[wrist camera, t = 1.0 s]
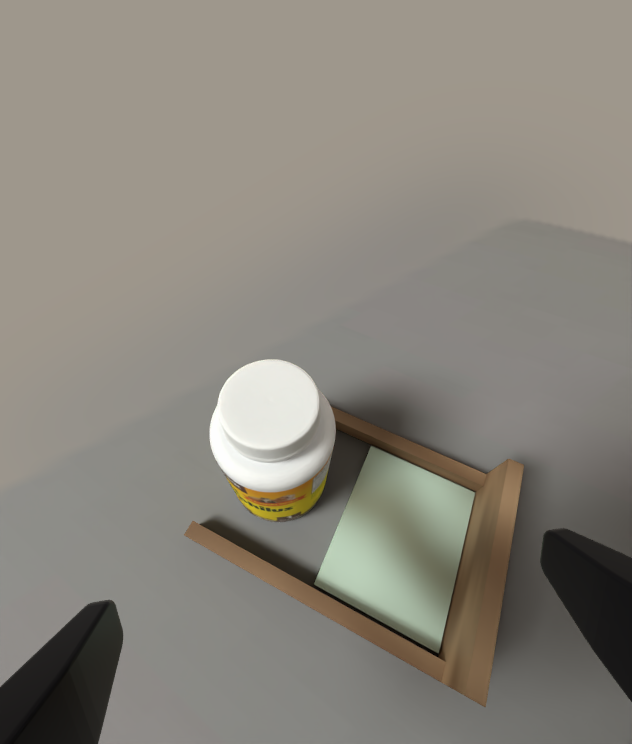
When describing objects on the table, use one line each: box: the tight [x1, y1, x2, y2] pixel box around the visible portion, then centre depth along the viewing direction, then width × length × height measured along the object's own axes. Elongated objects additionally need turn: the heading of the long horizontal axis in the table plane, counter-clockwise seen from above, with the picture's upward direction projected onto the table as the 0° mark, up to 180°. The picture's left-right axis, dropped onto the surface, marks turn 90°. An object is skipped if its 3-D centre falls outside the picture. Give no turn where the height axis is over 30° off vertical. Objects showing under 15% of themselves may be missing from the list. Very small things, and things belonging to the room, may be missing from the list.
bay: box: [184, 407, 524, 707], centre depth 20 cm, size 11×15×4 cm
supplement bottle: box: [210, 360, 336, 522], centre depth 18 cm, size 6×6×10 cm
